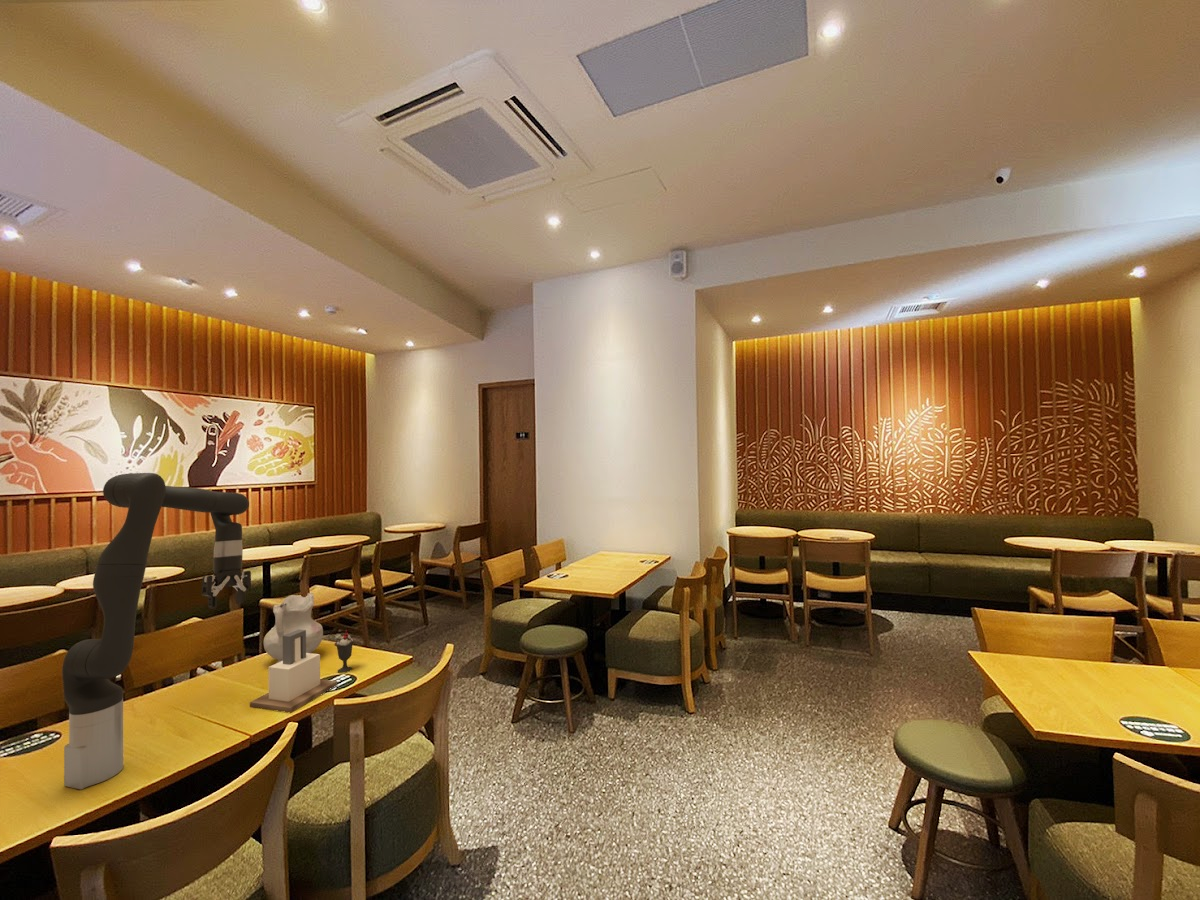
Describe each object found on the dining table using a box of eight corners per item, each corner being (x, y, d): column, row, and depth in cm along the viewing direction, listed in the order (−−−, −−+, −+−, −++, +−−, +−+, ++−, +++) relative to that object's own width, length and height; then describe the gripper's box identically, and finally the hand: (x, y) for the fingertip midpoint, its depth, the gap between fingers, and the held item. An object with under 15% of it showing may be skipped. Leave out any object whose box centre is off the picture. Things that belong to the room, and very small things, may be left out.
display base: (290, 712, 147) (290, 707, 147) (249, 706, 151) (249, 702, 151) (337, 685, 164) (337, 681, 164) (299, 681, 168) (299, 676, 168)
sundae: (346, 674, 173) (346, 632, 173) (330, 673, 174) (330, 631, 174) (359, 666, 179) (359, 626, 179) (343, 665, 180) (343, 625, 181)
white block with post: (288, 701, 151) (288, 645, 151) (268, 698, 153) (268, 643, 153) (320, 684, 162) (319, 631, 163) (301, 681, 164) (300, 630, 165)
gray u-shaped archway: (290, 664, 154) (289, 636, 154) (282, 663, 155) (282, 635, 155) (306, 657, 160) (305, 630, 160) (299, 656, 161) (298, 629, 161)
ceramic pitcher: (315, 671, 178) (320, 603, 180) (252, 677, 171) (258, 606, 173) (324, 650, 198) (329, 589, 200) (268, 654, 191) (274, 591, 193)
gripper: (214, 556, 150) (212, 610, 148) (257, 552, 164) (256, 601, 161) (196, 557, 152) (194, 611, 150) (240, 553, 165) (239, 602, 163)
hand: (226, 606), depth 155 cm, fingers open, 8 cm apart
